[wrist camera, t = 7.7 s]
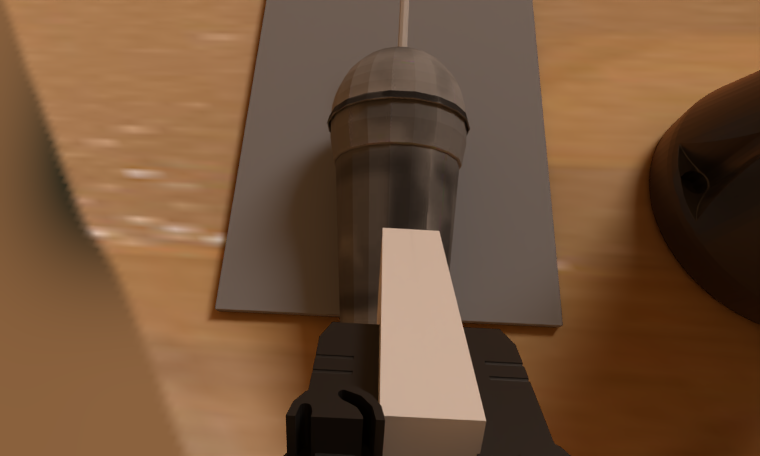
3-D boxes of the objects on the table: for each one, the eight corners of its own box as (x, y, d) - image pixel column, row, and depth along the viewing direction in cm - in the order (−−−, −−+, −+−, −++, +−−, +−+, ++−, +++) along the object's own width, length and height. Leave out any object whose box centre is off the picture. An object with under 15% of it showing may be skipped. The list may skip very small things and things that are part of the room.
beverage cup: (290, 360, 20) (322, -64, 24) (331, 353, 27) (350, 27, 31) (474, 370, 19) (474, -75, 23) (466, 359, 26) (467, 22, 30)
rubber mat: (280, -68, 36) (279, -75, 35) (524, -54, 36) (526, -61, 35) (218, 311, 26) (215, 308, 25) (558, 327, 26) (562, 325, 25)
